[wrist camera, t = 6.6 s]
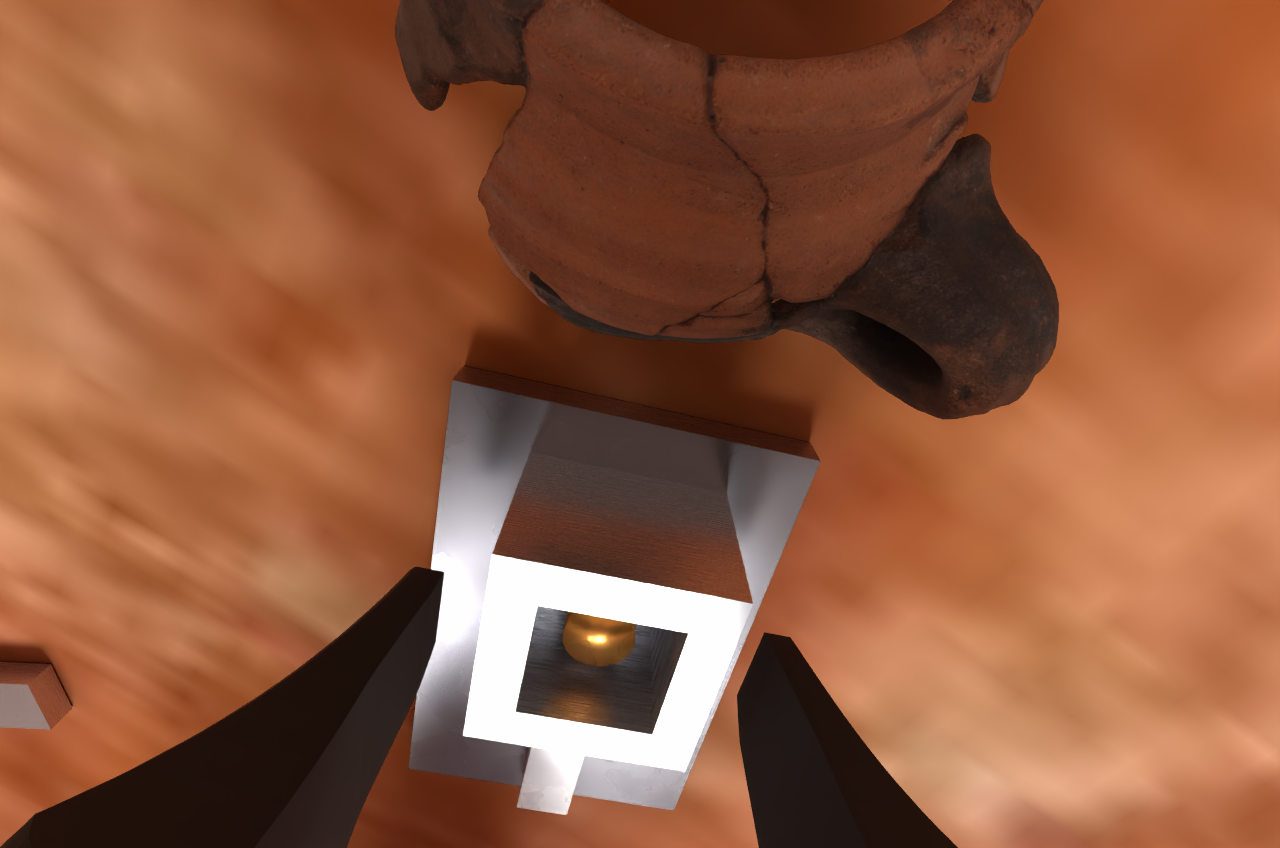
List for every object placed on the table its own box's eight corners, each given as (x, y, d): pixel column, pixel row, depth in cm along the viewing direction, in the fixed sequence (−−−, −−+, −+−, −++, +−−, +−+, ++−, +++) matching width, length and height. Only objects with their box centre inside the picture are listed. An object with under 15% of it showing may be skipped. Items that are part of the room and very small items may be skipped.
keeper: (672, 782, 21) (678, 912, 18) (418, 741, 20) (370, 869, 17) (809, 442, 15) (861, 533, 12) (464, 365, 15) (404, 438, 11)
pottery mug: (389, 211, 14) (86, -188, 5) (645, -65, 15) (711, -737, 7) (794, 539, 14) (1094, 632, 6) (1018, 239, 15) (1540, -51, 7)
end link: (675, 638, 17) (684, 771, 13) (502, 606, 17) (463, 735, 13) (726, 493, 15) (753, 603, 11) (530, 451, 14) (491, 554, 11)
